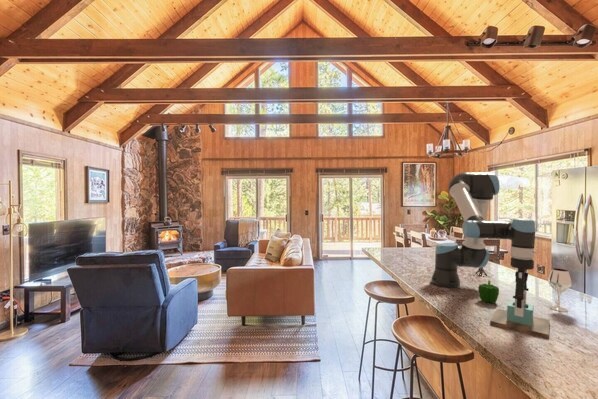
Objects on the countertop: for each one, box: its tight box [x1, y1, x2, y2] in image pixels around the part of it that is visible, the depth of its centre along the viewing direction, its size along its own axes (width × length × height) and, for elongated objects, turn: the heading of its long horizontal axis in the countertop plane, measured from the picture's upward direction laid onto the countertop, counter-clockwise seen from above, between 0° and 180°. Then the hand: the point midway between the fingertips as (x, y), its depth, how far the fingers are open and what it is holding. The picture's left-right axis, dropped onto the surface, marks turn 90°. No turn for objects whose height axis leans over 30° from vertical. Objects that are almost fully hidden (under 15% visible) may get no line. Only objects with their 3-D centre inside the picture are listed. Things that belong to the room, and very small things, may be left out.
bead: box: [506, 300, 535, 326], centre depth 124 cm, size 8×8×6 cm
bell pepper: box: [477, 279, 500, 304], centre depth 150 cm, size 8×8×10 cm
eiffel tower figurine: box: [468, 267, 494, 278], centre depth 202 cm, size 15×10×13 cm
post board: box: [489, 293, 550, 340], centre depth 124 cm, size 18×18×13 cm
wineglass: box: [547, 267, 573, 313], centre depth 142 cm, size 8×8×18 cm
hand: (520, 311), depth 124 cm, fingers open, 13 cm apart
